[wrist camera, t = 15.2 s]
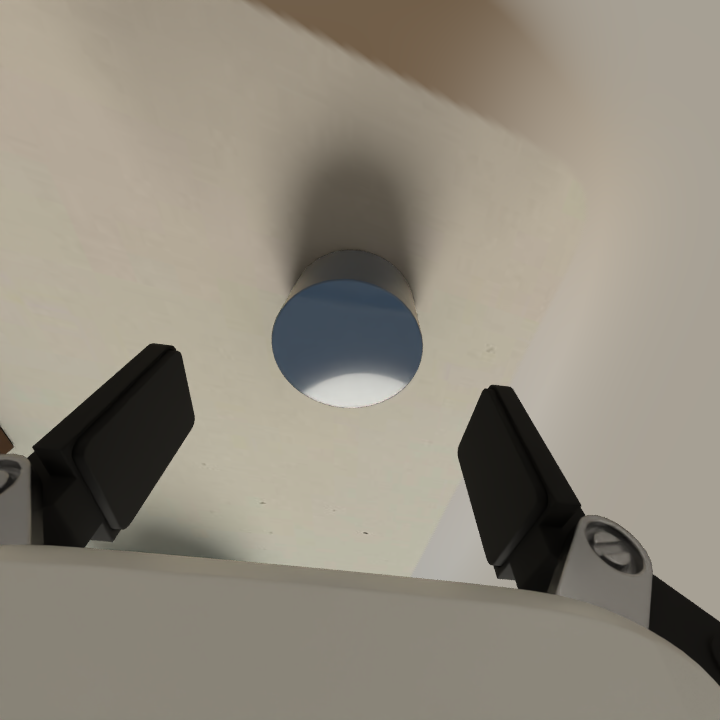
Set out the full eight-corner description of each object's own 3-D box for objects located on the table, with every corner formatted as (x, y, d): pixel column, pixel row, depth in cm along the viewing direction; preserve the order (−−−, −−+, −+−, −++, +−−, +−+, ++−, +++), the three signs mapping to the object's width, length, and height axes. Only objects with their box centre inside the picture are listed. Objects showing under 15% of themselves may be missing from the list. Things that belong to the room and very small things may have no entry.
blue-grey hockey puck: (324, 223, 13) (308, 246, 10) (439, 290, 14) (455, 328, 11) (274, 330, 16) (250, 373, 13) (373, 377, 17) (373, 426, 14)
